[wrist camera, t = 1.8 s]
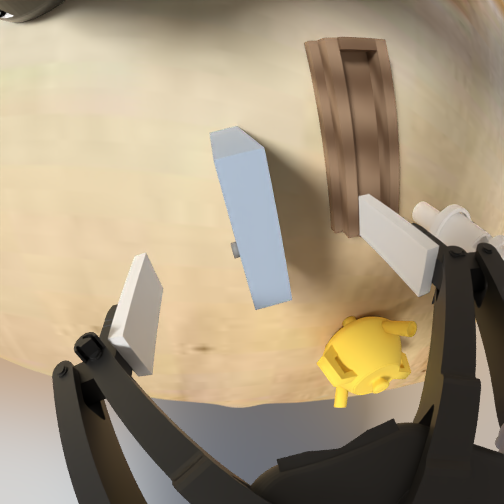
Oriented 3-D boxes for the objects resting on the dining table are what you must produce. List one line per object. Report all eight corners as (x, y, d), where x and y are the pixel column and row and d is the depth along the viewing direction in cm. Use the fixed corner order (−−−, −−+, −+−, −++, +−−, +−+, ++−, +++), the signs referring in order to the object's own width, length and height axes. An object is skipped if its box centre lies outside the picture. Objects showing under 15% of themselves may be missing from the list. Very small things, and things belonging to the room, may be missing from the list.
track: (304, 43, 19) (316, 37, 17) (375, 43, 19) (392, 40, 17) (331, 229, 30) (342, 242, 27) (389, 213, 30) (403, 224, 28)
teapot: (340, 276, 34) (381, 340, 24) (419, 293, 39) (457, 338, 30) (279, 371, 43) (296, 429, 33) (359, 370, 48) (380, 415, 39)
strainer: (402, 243, 33) (474, 317, 20) (398, 197, 29) (488, 267, 17) (438, 224, 32) (511, 285, 20) (437, 179, 29) (524, 235, 16)
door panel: (203, 134, 23) (202, 163, 13) (236, 126, 23) (264, 147, 13) (230, 230, 28) (247, 312, 18) (259, 222, 28) (292, 299, 18)
